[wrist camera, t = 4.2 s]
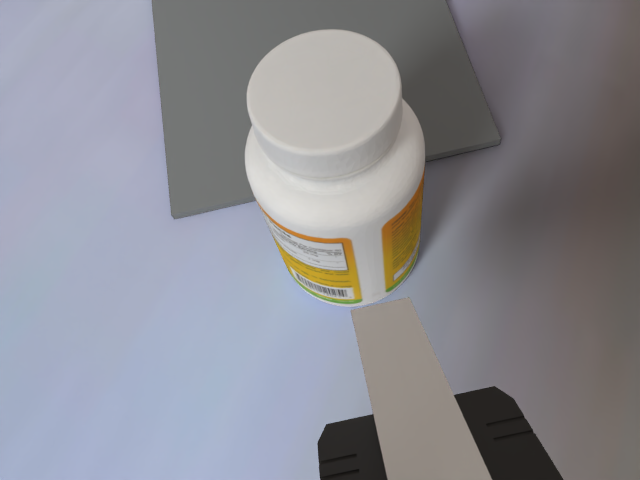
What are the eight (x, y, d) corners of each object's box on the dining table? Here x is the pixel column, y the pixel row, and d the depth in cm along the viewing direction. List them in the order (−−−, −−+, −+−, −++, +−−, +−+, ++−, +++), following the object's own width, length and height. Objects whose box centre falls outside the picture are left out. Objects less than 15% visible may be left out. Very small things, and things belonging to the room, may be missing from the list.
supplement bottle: (390, 169, 25) (384, -19, 16) (441, 282, 23) (467, 132, 14) (268, 212, 25) (197, 45, 16) (307, 329, 22) (248, 208, 14)
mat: (499, 144, 25) (501, 138, 24) (174, 219, 25) (171, 215, 25) (413, -74, 31) (413, -80, 31) (153, -11, 31) (150, -17, 31)
